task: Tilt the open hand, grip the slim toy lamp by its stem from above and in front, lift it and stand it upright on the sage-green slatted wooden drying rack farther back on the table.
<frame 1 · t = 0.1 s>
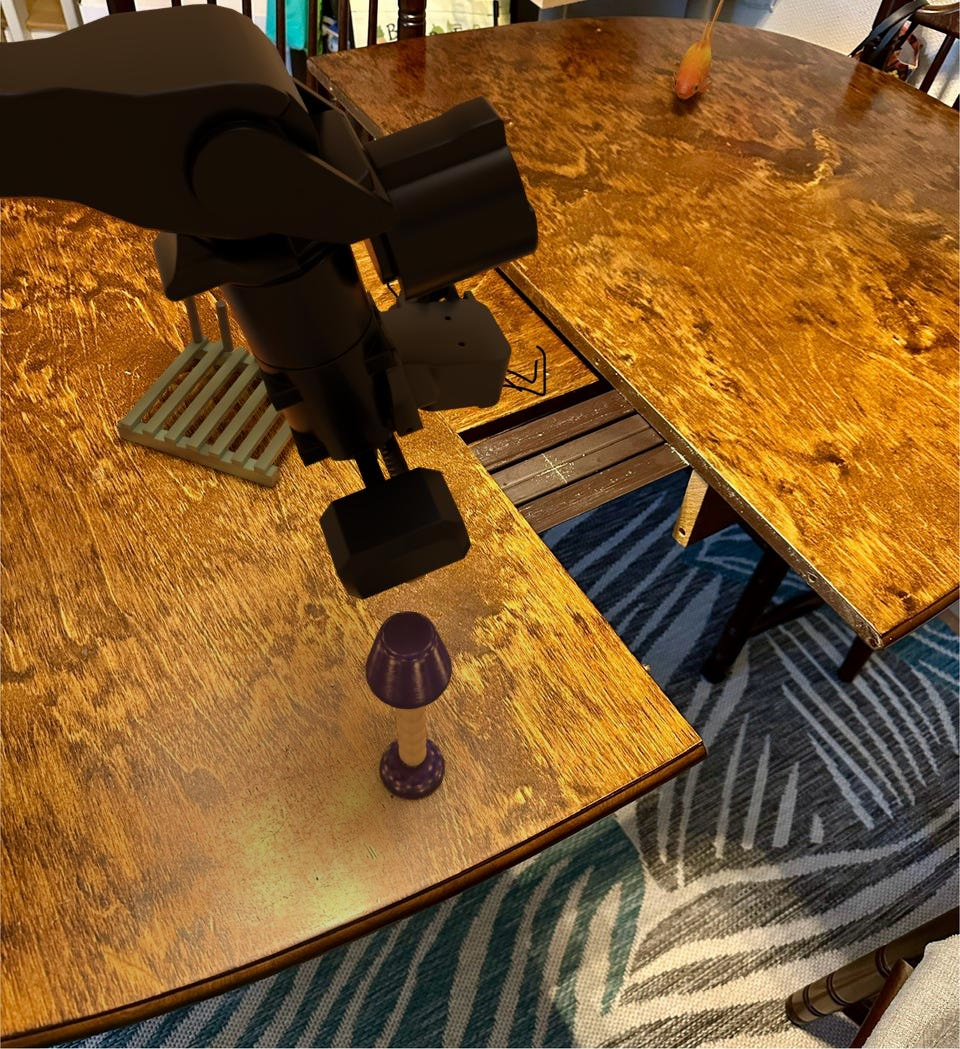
hand: (391, 517, 53), 14 cm above the table, tool pointing down, fingers open, 9 cm apart
fish: (694, 82, 123), on the table
toy lamp: (407, 768, 58), on the table
rack: (232, 414, 77), on the table
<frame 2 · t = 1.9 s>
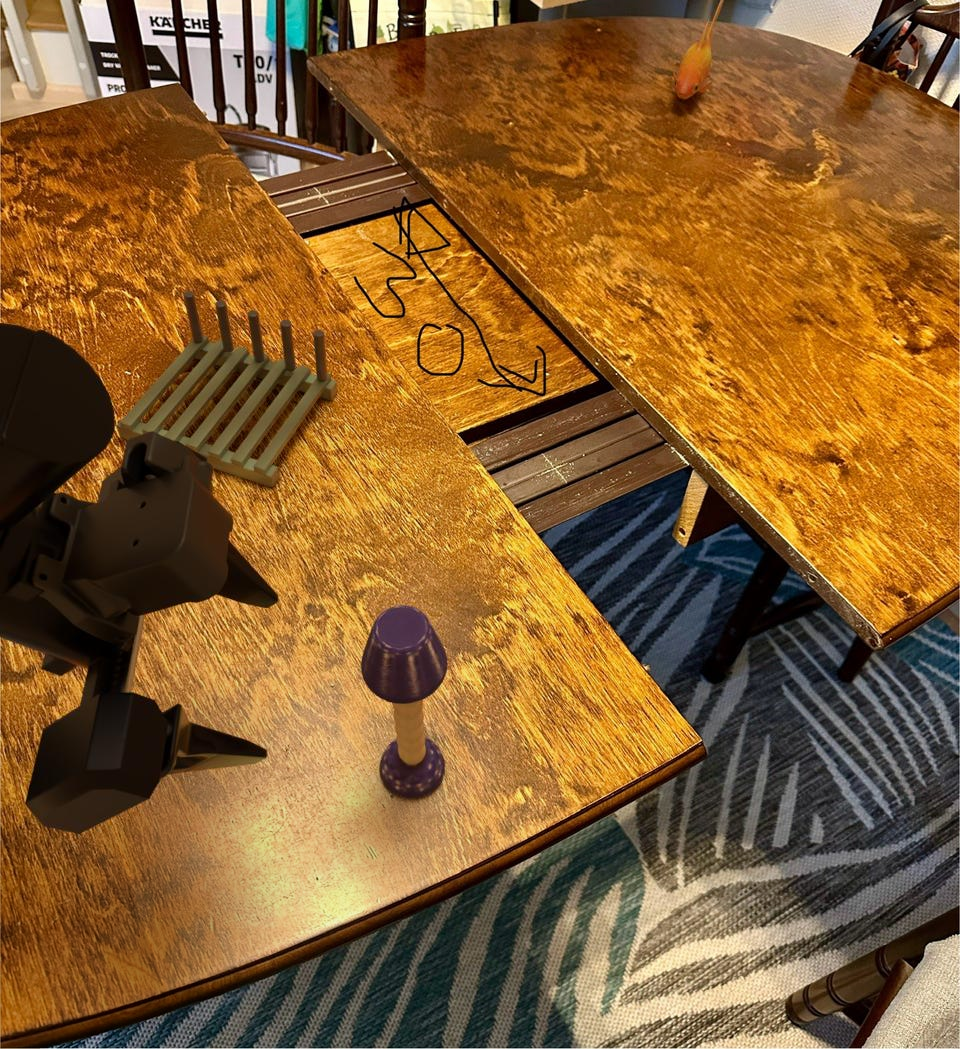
hand: (268, 675, 47), 13 cm above the table, tool tilted 45°, fingers open, 9 cm apart
nothing on the table moved.
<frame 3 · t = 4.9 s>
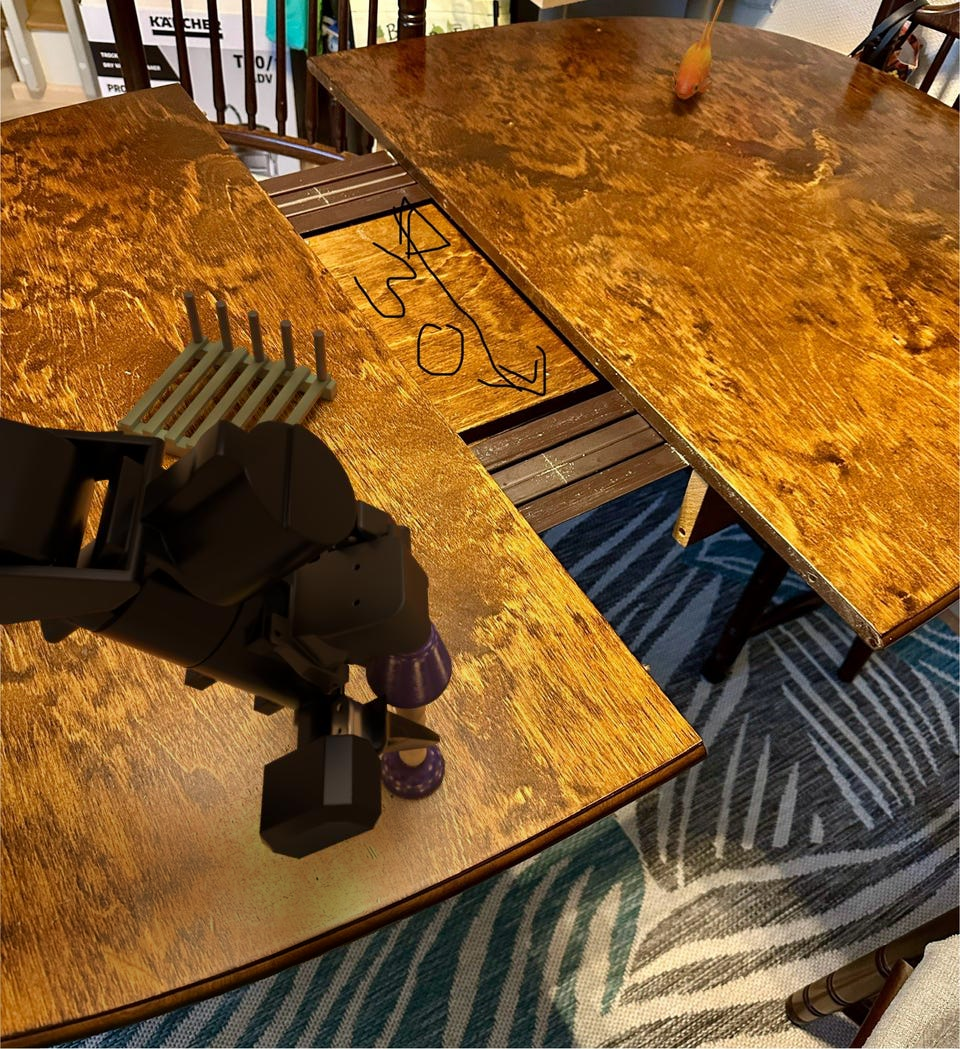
hand: (433, 709, 52), 8 cm above the table, tool tilted 45°, fingers closed on toy lamp, 4 cm apart
toy lamp: (407, 768, 58), on the table, touching gripper
everything else where it was.
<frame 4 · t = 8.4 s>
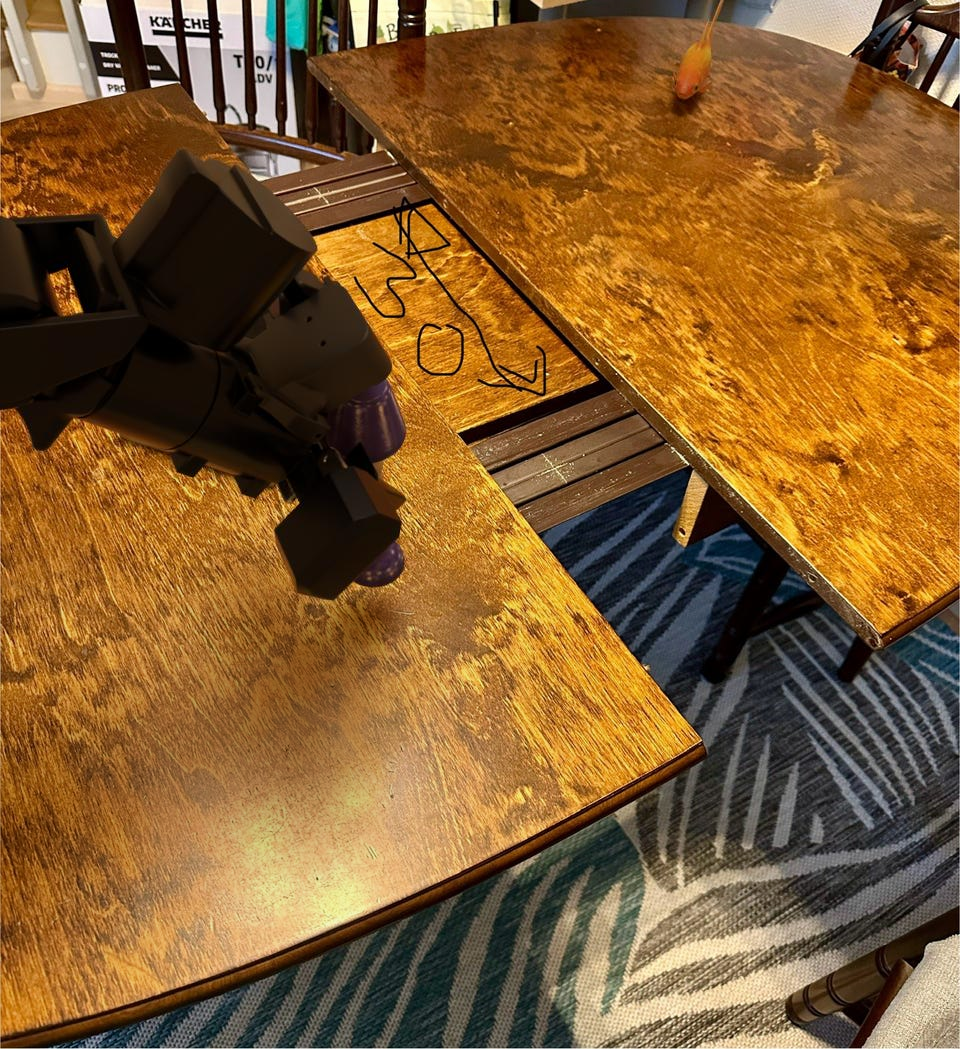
hand: (388, 480, 56), 13 cm above the table, tool tilted 45°, fingers closed on toy lamp, 4 cm apart
toy lamp: (368, 565, 62), point 5 cm above the table, touching gripper
everything else where it was.
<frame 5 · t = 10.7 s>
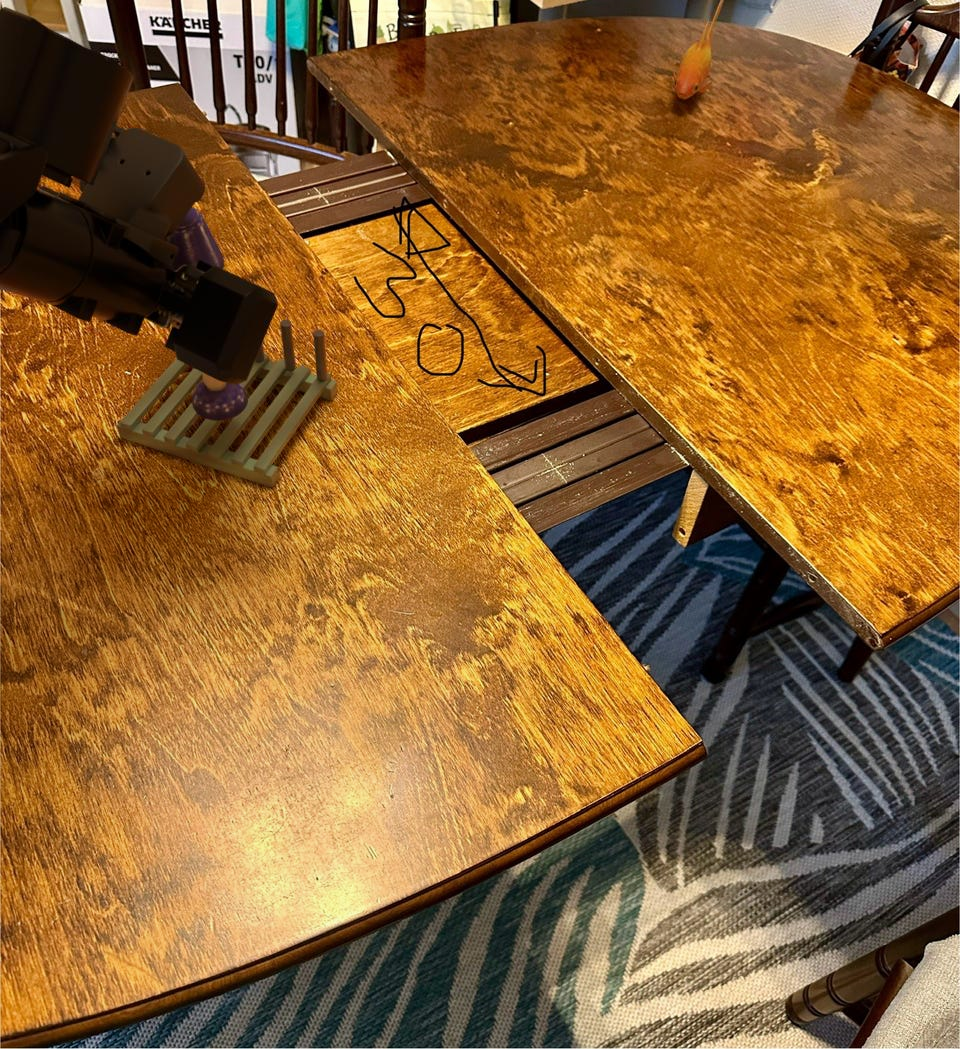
hand: (213, 312, 65), 13 cm above the table, tool tilted 45°, fingers closed on toy lamp, 4 cm apart
toy lamp: (217, 406, 70), point 5 cm above the table, touching gripper
everything else where it was.
when the fingers open (10 cm above the table, at t = 12.4 s): toy lamp stays where it is, resting on rack.
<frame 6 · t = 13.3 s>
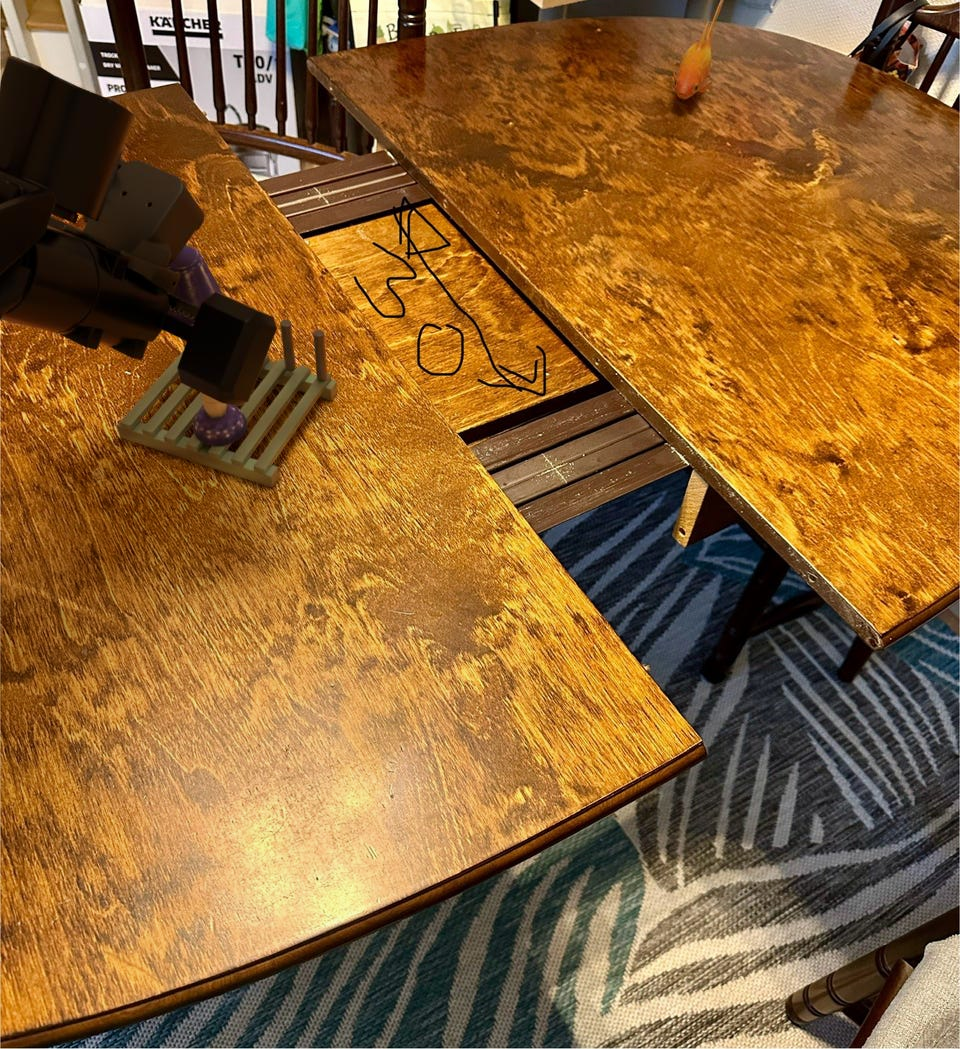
hand: (213, 331, 67), 11 cm above the table, tool tilted 45°, fingers open, 9 cm apart
toy lamp: (217, 431, 73), point 2 cm above the table, touching rack
everything else where it was.
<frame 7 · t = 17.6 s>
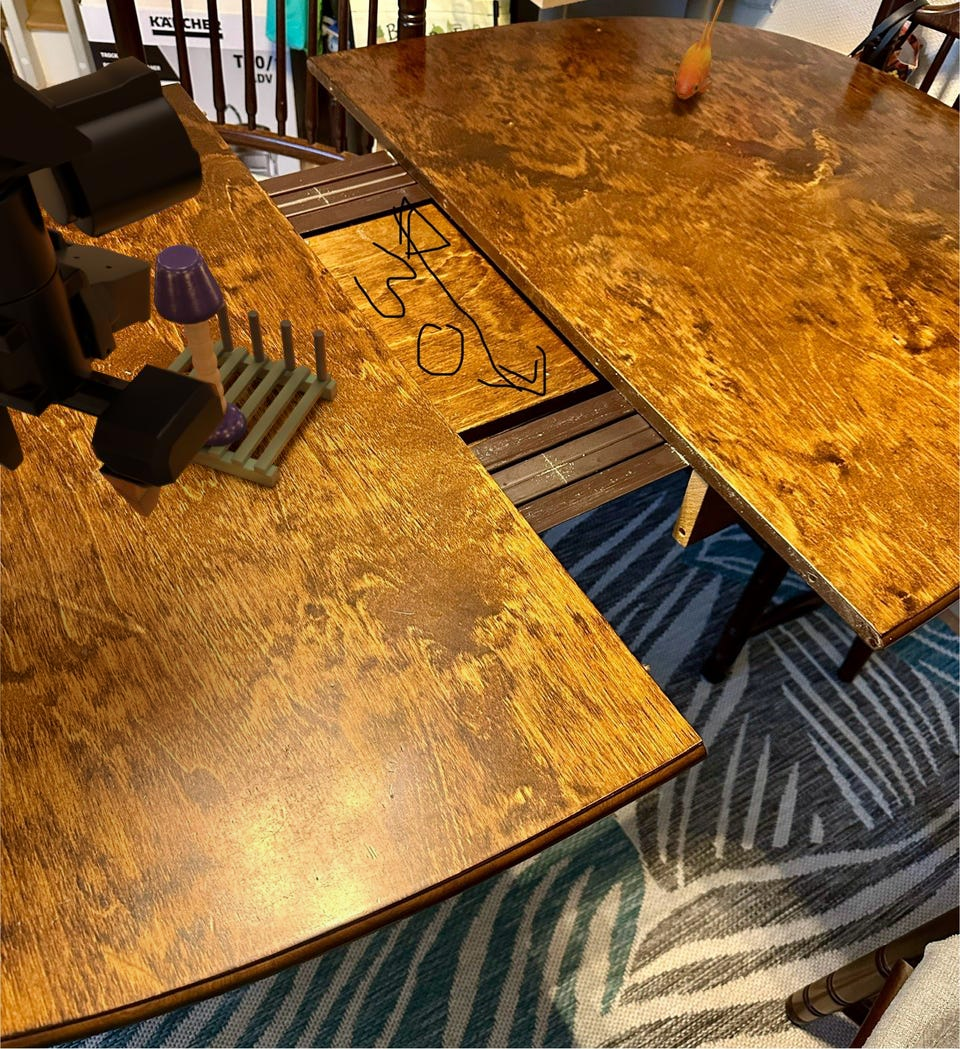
hand: (82, 487, 54), 13 cm above the table, tool pointing down, fingers open, 9 cm apart
nothing on the table moved.
at the end: toy lamp inside the target area on the rack (3.2 cm from its centre), point 1.8 cm above the rack's base; toy lamp tilted 0°; the gripper is holding nothing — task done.
